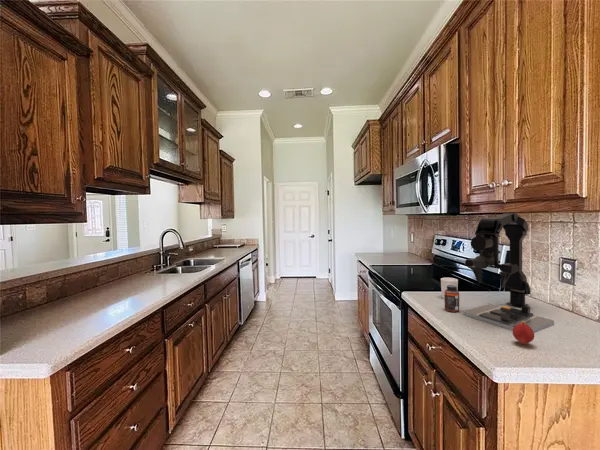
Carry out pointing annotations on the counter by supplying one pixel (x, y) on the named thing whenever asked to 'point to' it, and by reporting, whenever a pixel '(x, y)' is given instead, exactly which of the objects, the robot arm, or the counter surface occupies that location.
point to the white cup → (447, 282)
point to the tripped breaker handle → (506, 309)
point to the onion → (523, 333)
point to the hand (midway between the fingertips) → (490, 285)
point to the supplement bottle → (452, 298)
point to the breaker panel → (531, 322)
